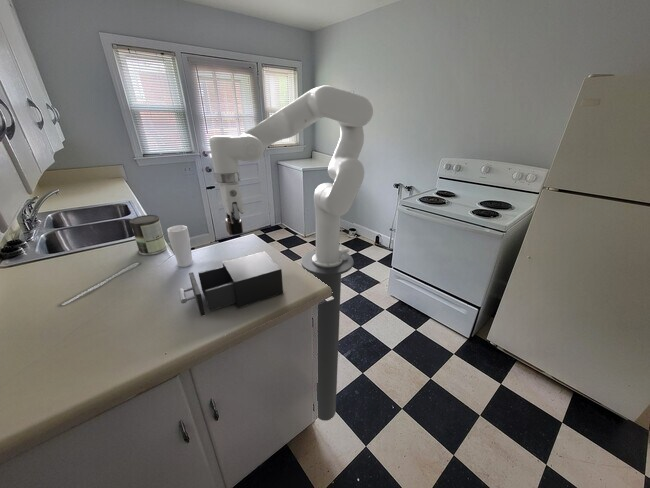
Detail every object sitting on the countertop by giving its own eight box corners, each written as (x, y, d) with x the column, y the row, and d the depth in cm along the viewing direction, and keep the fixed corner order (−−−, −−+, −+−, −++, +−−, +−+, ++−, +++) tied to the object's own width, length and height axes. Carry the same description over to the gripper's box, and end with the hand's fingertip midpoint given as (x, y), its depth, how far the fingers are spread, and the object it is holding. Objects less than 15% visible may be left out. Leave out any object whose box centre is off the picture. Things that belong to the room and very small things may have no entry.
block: (239, 228, 95) (238, 217, 93) (243, 232, 92) (241, 220, 90) (226, 231, 93) (225, 219, 91) (229, 235, 90) (228, 222, 88)
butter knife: (142, 263, 104) (135, 261, 105) (66, 306, 81) (58, 304, 81) (142, 264, 105) (136, 262, 105) (67, 307, 81) (59, 305, 82)
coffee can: (135, 256, 110) (124, 224, 104) (144, 245, 119) (135, 215, 113) (162, 254, 112) (153, 222, 106) (170, 243, 121) (162, 214, 115)
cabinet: (238, 308, 81) (234, 282, 77) (226, 284, 92) (222, 261, 88) (283, 293, 88) (281, 268, 84) (266, 273, 99) (264, 251, 95)
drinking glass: (187, 258, 109) (178, 223, 102) (199, 262, 106) (191, 226, 100) (172, 266, 103) (162, 229, 97) (184, 270, 100) (175, 233, 94)
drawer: (185, 321, 74) (180, 299, 71) (179, 296, 84) (174, 276, 81) (248, 301, 82) (245, 280, 79) (236, 280, 93) (233, 262, 90)
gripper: (247, 181, 80) (253, 238, 88) (233, 172, 93) (239, 222, 101) (221, 184, 76) (229, 242, 84) (210, 174, 89) (218, 225, 97)
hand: (234, 231), depth 92 cm, fingers closed on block, 4 cm apart
